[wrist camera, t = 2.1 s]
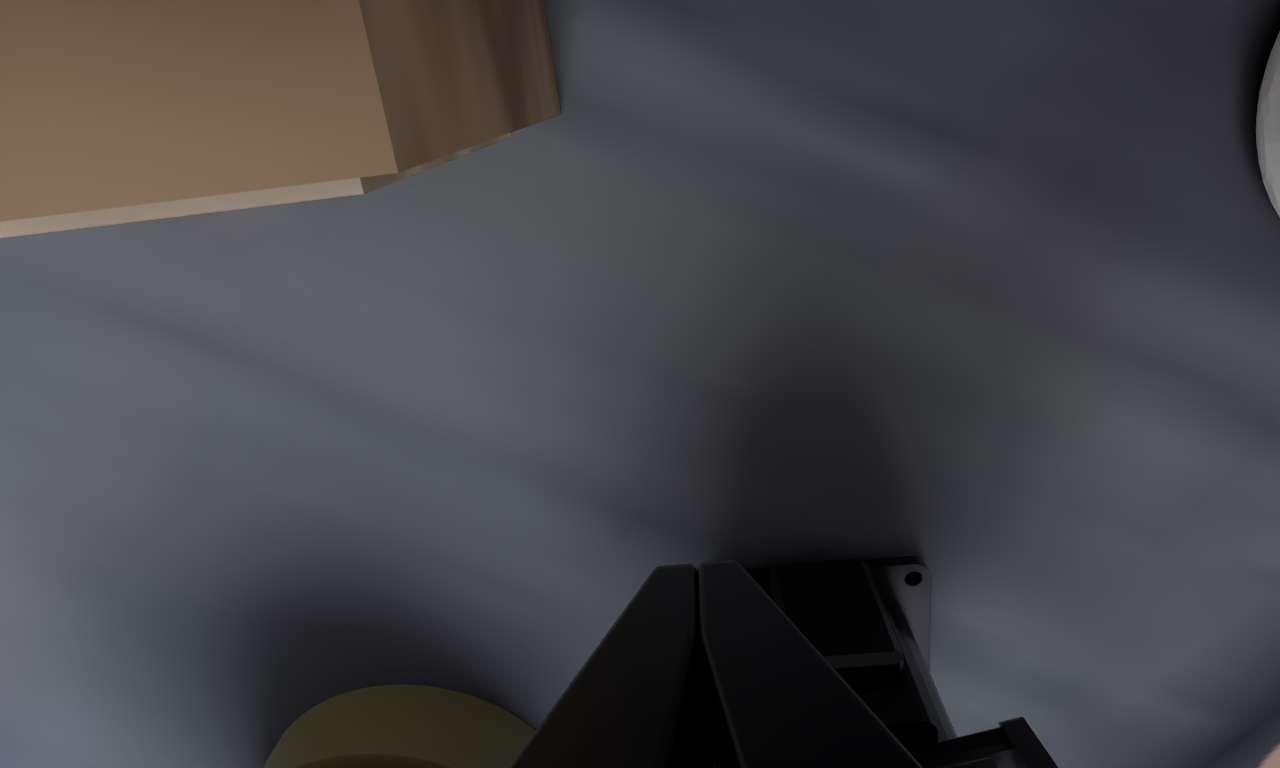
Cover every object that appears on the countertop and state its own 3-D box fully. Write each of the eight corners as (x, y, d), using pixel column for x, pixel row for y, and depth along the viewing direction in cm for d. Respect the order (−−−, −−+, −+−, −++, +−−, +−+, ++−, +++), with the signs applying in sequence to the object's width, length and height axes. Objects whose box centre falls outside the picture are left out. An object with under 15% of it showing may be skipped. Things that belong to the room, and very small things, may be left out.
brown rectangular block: (563, 126, 19) (404, 203, 8) (211, 171, 20) (-399, 300, 8) (525, -127, 17) (242, -514, 6) (136, -68, 18) (-782, -311, 6)
